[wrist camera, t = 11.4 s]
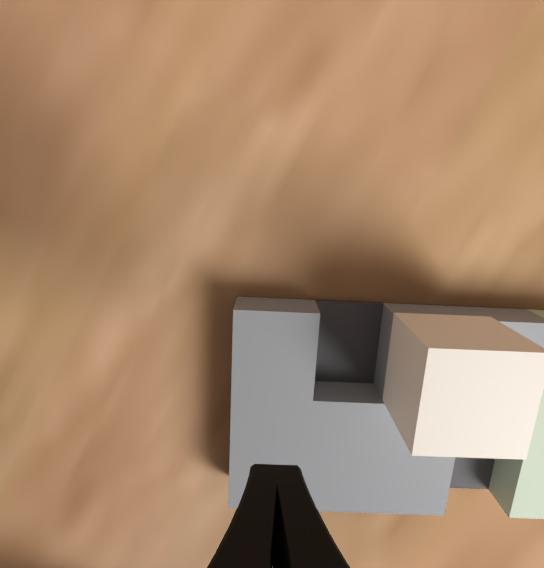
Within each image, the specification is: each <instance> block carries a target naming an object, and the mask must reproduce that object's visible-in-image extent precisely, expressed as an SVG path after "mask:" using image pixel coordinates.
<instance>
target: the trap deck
mask: <svg viewBox="0 0 544 568" xmlns="http://www.w3.org/2000/svg"><path fill="white" fill-rule="evenodd" d="M394 313H416V314H441V315H465V316H489V317H492V318H494V319H496V320H497V321H499V322H501V323H502V324H504V325H506V326H507V327H509V328H511V329H512V330H514V331H516V332H518V333H519V334H521V335H523V336H524V337H526V338H528V339H529V340H531V341H533V342H534V343H536V344H538V345H539V346H541V347H543V348H544V310H535V309H512V308H489V307H467V306H444V305H421V304H399V303H376V302H353V301H331V300H308V299H286V298H263V297H240V296H237V298H236V302H235V305H234V308H233V335H232V376H231V418H230V459H229V500H228V508H237V507H238V505H239V503H240V500H241V498H242V495H243V492H244V490H245V487H246V484H247V480H248V476H249V472H250V467H251V466H252V465H254V464H275V465H298V467H299V468H300V469H301V471H302V474H303V477H304V480H305V483H306V485H307V488H308V490H309V492H310V495H311V497H312V499H313V501H314V504H315V506H316V508H317V510H318V511H327V512H357V513H386V514H416V515H444V514H445V509H446V504H447V499H448V493H449V488H470V489H489V491H490V492H491V493H492V495H493V496H494V497H495V499H496V500H497V502H498V503H499V504H500V506H501V507H502V509H503V510H504V511H505V513H506V514H507V516H508V517H509V518H534V519H544V389H543V393H542V397H541V401H540V405H539V409H538V413H537V418H536V422H535V426H534V430H533V434H532V438H531V442H530V446H529V450H528V455H527V459H526V460H522V459H493V458H464V457H435V456H412V455H411V453H410V451H409V450H408V448H407V446H406V444H405V442H404V440H403V438H402V436H401V434H400V433H399V431H398V429H397V427H396V425H395V423H394V421H393V419H392V417H391V415H390V414H389V412H388V410H387V408H386V406H385V404H384V402H383V400H382V399H383V392H384V384H385V376H386V369H387V361H388V353H389V346H390V338H391V330H392V322H393V315H394Z"/></svg>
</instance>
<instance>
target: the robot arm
mask: <svg viewBox="0 0 544 568" xmlns="http://www.w3.org/2000/svg"><path fill="white" fill-rule="evenodd" d="M272 566H273V568H350V567H349V565H348V564H347V562H346V561H345V559H344V557H343V556H342V554H341V552H340V551H339V549H338V547H337V545H336V544H335V542H334V540H333V538H332V537H331V535H330V533H329V531H328V529H327V527H326V525H325V524H324V522H323V520H322V518H321V516H320V514H319V512H318V510H317V508H316V506H315V504H314V501H313V499H312V497H311V495H310V492H309V490H308V488H307V485H306V483H305V480H304V477H303V474H302V471H301V469H300V468H299V467H298V465H275V464H254V465H252V466H251V467H250V472H249V476H248V480H247V484H246V487H245V490H244V492H243V495H242V498H241V500H240V503H239V505H238V507H237V510H236V512H235V514H234V517H233V519H232V521H231V523H230V526H229V528H228V530H227V532H226V534H225V535H224V537H223V539H222V541H221V543H220V545H219V547H218V549H217V551H216V553H215V555H214V557H213V558H212V560H211V562H210V564H209V565H208V567H207V568H272Z"/></svg>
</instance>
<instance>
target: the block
mask: <svg viewBox="0 0 544 568" xmlns="http://www.w3.org/2000/svg"><path fill="white" fill-rule="evenodd" d="M543 389H544V348H543V347H541V346H539V345H538V344H536V343H534V342H533V341H531V340H529V339H528V338H526V337H524V336H523V335H521V334H519V333H518V332H516V331H514V330H512V329H511V328H509V327H507V326H506V325H504V324H502V323H501V322H499V321H497V320H496V319H494V318H492V317H489V316H465V315H441V314H416V313H394V315H393V322H392V330H391V338H390V346H389V353H388V361H387V369H386V376H385V384H384V392H383V399H382V400H383V402H384V404H385V406H386V408H387V410H388V412H389V414H390V415H391V417H392V419H393V421H394V423H395V425H396V427H397V429H398V431H399V433H400V434H401V436H402V438H403V440H404V442H405V444H406V446H407V448H408V450H409V451H410V453H411V455H412V456H435V457H464V458H493V459H522V460H526V459H527V455H528V450H529V446H530V442H531V438H532V434H533V430H534V426H535V422H536V418H537V413H538V409H539V405H540V401H541V397H542V393H543Z"/></svg>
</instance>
